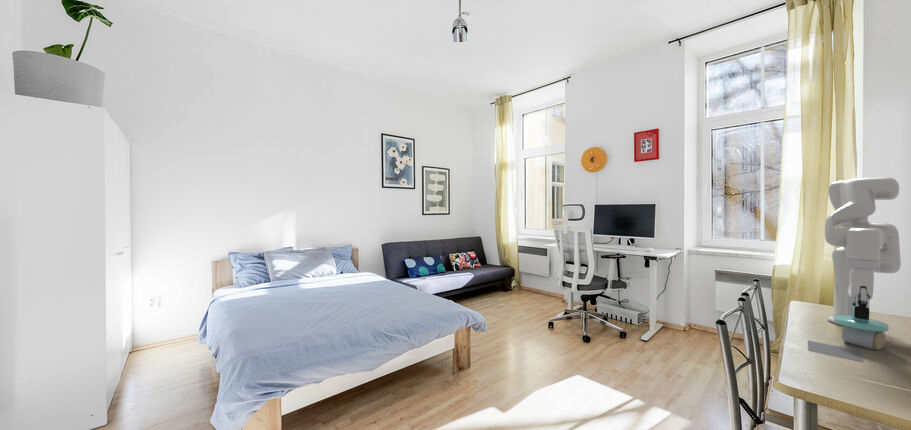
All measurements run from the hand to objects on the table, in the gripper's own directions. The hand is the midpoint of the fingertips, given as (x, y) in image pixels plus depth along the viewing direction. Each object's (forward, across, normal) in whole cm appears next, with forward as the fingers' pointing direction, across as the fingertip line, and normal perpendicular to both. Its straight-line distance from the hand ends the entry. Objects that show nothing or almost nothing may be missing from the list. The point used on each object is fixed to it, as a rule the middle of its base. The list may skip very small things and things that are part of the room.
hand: (860, 316), depth 117 cm
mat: (+11, +12, -6) cm, 17 cm away
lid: (+3, 0, 0) cm, 3 cm away
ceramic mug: (+11, -2, +1) cm, 11 cm away
